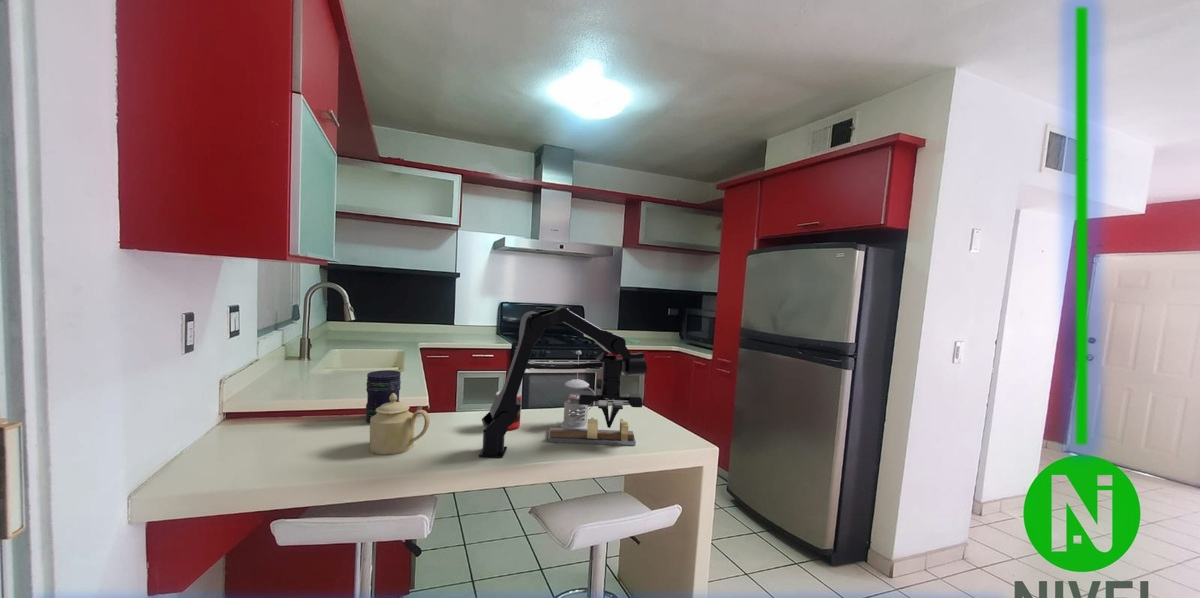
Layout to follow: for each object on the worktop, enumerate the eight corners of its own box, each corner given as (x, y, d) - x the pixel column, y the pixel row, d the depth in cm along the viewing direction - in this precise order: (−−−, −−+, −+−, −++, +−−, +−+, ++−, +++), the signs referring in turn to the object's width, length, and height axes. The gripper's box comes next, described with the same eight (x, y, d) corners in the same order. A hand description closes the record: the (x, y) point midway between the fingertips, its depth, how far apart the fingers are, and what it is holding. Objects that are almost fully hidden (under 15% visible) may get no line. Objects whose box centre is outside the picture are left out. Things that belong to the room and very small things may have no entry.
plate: (635, 445, 131) (635, 441, 131) (547, 442, 130) (547, 437, 130) (632, 434, 140) (632, 430, 140) (550, 431, 139) (550, 427, 139)
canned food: (492, 424, 143) (493, 390, 143) (516, 422, 147) (517, 389, 146) (497, 432, 136) (498, 397, 136) (522, 429, 140) (524, 395, 139)
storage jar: (359, 424, 137) (360, 376, 136) (373, 414, 147) (374, 369, 146) (392, 424, 138) (394, 377, 137) (404, 415, 148) (405, 370, 147)
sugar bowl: (428, 437, 130) (430, 386, 129) (428, 451, 119) (430, 396, 118) (372, 441, 124) (373, 388, 124) (366, 456, 114) (368, 399, 113)
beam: (634, 441, 131) (634, 426, 131) (549, 438, 130) (550, 422, 130) (631, 433, 138) (632, 418, 138) (551, 430, 137) (552, 415, 137)
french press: (555, 422, 148) (559, 348, 147) (586, 418, 154) (590, 347, 153) (567, 431, 140) (571, 353, 139) (599, 427, 145) (603, 352, 144)
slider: (597, 439, 131) (597, 423, 131) (586, 438, 131) (587, 423, 131) (596, 431, 138) (597, 416, 137) (586, 430, 138) (587, 416, 137)
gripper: (639, 371, 140) (636, 420, 141) (580, 368, 140) (578, 417, 141) (644, 379, 129) (641, 432, 130) (580, 376, 129) (577, 429, 129)
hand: (608, 427), depth 133 cm, fingers closed
